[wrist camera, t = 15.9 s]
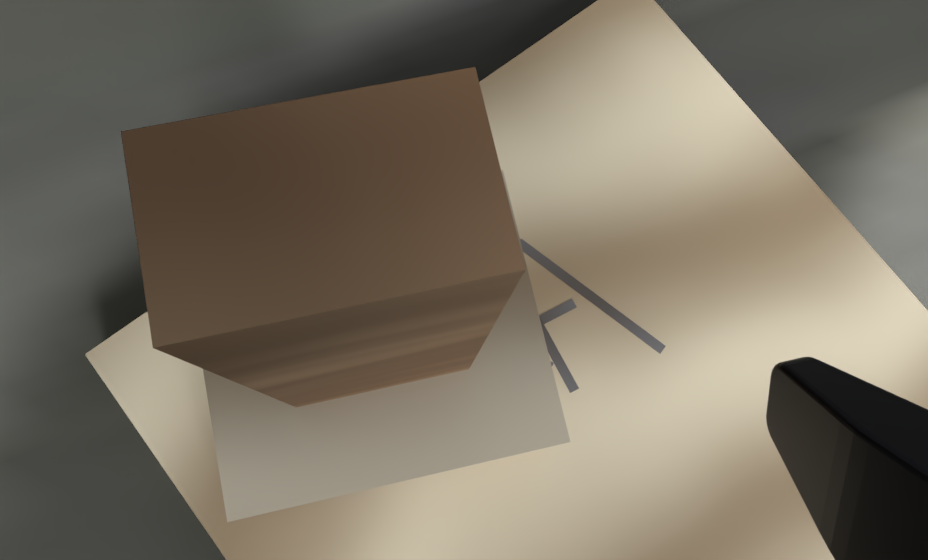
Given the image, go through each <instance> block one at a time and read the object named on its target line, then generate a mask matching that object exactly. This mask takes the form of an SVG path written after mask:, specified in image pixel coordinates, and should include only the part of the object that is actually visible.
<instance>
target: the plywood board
mask: <svg viewBox="0 0 928 560" xmlns="http://www.w3.org/2000/svg"><path fill="white" fill-rule="evenodd" d="M479 84H480V88H481V92H482V96H483V100H484V104H485V108H486V112H487V116H488V120H489V124H490V128H491V132H492V136H493V140H494V144H495V148H496V152H497V156H498V160H499V164H500V168H501V170H503V173H504V177H505V181H506V185H507V189H508V193H509V197H510V201H511V205H512V209H513V213H514V217H515V221H516V225H517V229H518V233H519V237H520V241H521V245H522V249H523V253H524V257H525V261H526V265H527V269H528V273H529V277H530V281H531V285H532V289H533V293H534V297H535V301H536V305H537V310H538V314H539V318H540V322H541V326H542V330H543V334H544V338H545V342H546V346H547V350H548V354H549V358H550V362H551V366H552V370H553V374H554V378H555V382H556V386H557V390H558V394H559V398H560V402H561V406H562V410H563V414H564V418H565V422H566V426H567V430H568V434H569V438H570V442H568V443H564V444H560V445H555V446H551V447H547V448H543V449H538V450H534V451H530V452H526V453H521V454H517V455H513V456H508V457H504V458H500V459H496V460H491V461H487V462H483V463H478V464H474V465H470V466H466V467H461V468H457V469H453V470H449V471H444V472H440V473H436V474H431V475H427V476H423V477H419V478H414V479H410V480H406V481H402V482H397V483H393V484H389V485H384V486H380V487H376V488H372V489H367V490H363V491H359V492H354V493H350V494H346V495H342V496H337V497H333V498H329V499H325V500H320V501H316V502H312V503H307V504H303V505H299V506H295V507H290V508H286V509H282V510H278V511H273V512H269V513H265V514H260V515H256V516H252V517H248V518H243V519H239V520H235V521H230V522H227V517H226V511H225V505H224V499H223V492H222V486H221V480H220V473H219V467H218V461H217V455H216V448H215V442H214V436H213V430H212V423H211V417H210V411H209V404H208V398H207V392H206V386H205V379H204V373H203V369H202V368H200V367H198V366H195V365H193V364H190V363H188V362H185V361H183V360H181V359H178V358H176V357H173V356H171V355H169V354H166V353H164V352H161V351H159V350H157V349H154V348H153V346H152V339H151V332H150V325H149V319H148V312H146V313H144V314H143V315H141V316H140V317H138V318H137V319H135V320H134V321H133V322H131V323H130V324H128V325H127V326H125V327H124V328H122V329H121V330H119V331H118V332H117V333H115V334H114V335H112V336H111V337H109V338H108V339H106V340H105V341H104V342H102V343H101V344H99V345H98V346H96V347H95V348H93V349H92V350H91V351H89V352H88V353H86V354H85V355H86V357H87V358H88V360H89V361H90V363H91V364H92V365H93V367H94V368H95V370H96V371H97V373H98V374H99V376H100V377H101V378H102V380H103V381H104V383H105V384H106V386H107V387H108V389H109V390H110V392H111V393H112V394H113V396H114V397H115V399H116V400H117V402H118V403H119V405H120V406H121V408H122V409H123V410H124V412H125V413H126V415H127V416H128V418H129V419H130V421H131V422H132V423H133V425H134V426H135V428H136V429H137V431H138V432H139V434H140V435H141V437H142V438H143V439H144V441H145V442H146V444H147V445H148V447H149V448H150V450H151V451H152V453H153V454H154V455H155V457H156V458H157V460H158V461H159V463H160V464H161V466H162V467H163V469H164V470H165V471H166V473H167V474H168V476H169V477H170V479H171V480H172V482H173V483H174V484H175V486H176V487H177V489H178V490H179V492H180V493H181V495H182V496H183V498H184V499H185V500H186V502H187V503H188V505H189V506H190V508H191V509H192V511H193V512H194V514H195V515H196V516H197V518H198V519H199V521H200V522H201V524H202V525H203V527H204V528H205V529H206V531H207V532H208V534H209V535H210V537H211V538H212V540H213V541H214V543H215V544H216V545H217V547H218V548H219V550H220V551H221V553H222V554H223V556H224V557H225V559H226V560H835V559H834V557H833V556H832V554H831V553H830V551H829V549H828V547H827V545H826V544H825V542H824V540H823V538H822V536H821V534H820V533H819V531H818V529H817V527H816V525H815V523H814V521H813V519H812V517H811V515H810V513H809V511H808V509H807V507H806V505H805V503H804V501H803V499H802V497H801V495H800V493H799V491H798V489H797V487H796V486H795V484H794V482H793V480H792V478H791V476H790V474H789V472H788V470H787V468H786V466H785V464H784V462H783V460H782V458H781V456H780V454H779V452H778V450H777V448H776V446H775V444H774V442H773V440H772V438H771V436H770V434H769V431H768V427H767V422H766V411H767V403H768V395H769V386H770V378H771V372H772V369H773V368H774V366H775V365H776V364H778V363H780V362H783V361H788V360H792V359H797V358H801V357H812V358H815V359H818V360H820V361H822V362H825V363H827V364H829V365H831V366H833V367H836V368H838V369H840V370H842V371H844V372H847V373H849V374H851V375H853V376H855V377H858V378H860V379H862V380H864V381H866V382H869V383H871V384H873V385H875V386H877V387H880V388H882V389H884V390H886V391H888V392H891V393H893V394H895V395H897V396H899V397H902V398H904V399H906V400H908V401H910V402H913V403H915V404H917V405H919V406H921V407H924V408H926V409H928V311H927V310H926V308H925V307H924V306H923V305H922V304H921V303H920V302H919V300H918V299H917V298H916V297H915V296H914V295H913V294H912V292H911V291H910V290H909V289H908V288H907V287H906V286H905V285H904V283H903V282H902V281H901V280H900V279H899V278H898V277H897V275H896V274H895V273H894V272H893V271H892V270H891V269H890V268H889V266H888V265H887V264H886V263H885V262H884V261H883V260H882V258H881V257H880V256H879V255H878V254H877V253H876V252H875V250H874V249H873V248H872V247H871V246H870V245H869V244H868V243H867V241H866V240H865V239H864V238H863V237H862V236H861V235H860V233H859V232H858V231H857V230H856V229H855V228H854V227H853V225H852V224H851V223H850V222H849V221H848V220H847V219H846V218H845V216H844V215H843V214H842V213H841V212H840V211H839V210H838V208H837V207H836V206H835V205H834V204H833V203H832V202H831V201H830V199H829V198H828V197H827V196H826V195H825V194H824V193H823V191H822V190H821V189H820V188H819V187H818V186H817V185H816V183H815V182H814V181H813V180H812V179H811V178H810V177H809V176H808V174H807V173H806V172H805V171H804V170H803V169H802V168H801V166H800V165H799V164H798V163H797V162H796V161H795V160H794V158H793V157H792V156H791V155H790V154H789V153H788V152H787V151H786V149H785V148H784V147H783V146H782V145H781V144H780V143H779V141H778V140H777V139H776V138H775V137H774V136H773V135H772V134H771V132H770V131H769V130H768V129H767V128H766V127H765V126H764V124H763V123H762V122H761V121H760V120H759V119H758V118H757V116H756V115H755V114H754V113H753V112H752V111H751V110H750V109H749V107H748V106H747V105H746V104H745V103H744V102H743V101H742V99H741V98H740V97H739V96H738V95H737V94H736V93H735V91H734V90H733V89H732V88H731V87H730V86H729V85H728V84H727V82H726V81H725V80H724V79H723V78H722V77H721V76H720V74H719V73H718V72H717V71H716V70H715V69H714V68H713V66H712V65H711V64H710V63H709V62H708V61H707V60H706V59H705V57H704V56H703V55H702V54H701V53H700V52H699V51H698V49H697V48H696V47H695V46H694V45H693V44H692V43H691V42H690V40H689V39H688V38H687V37H686V36H685V35H684V34H683V32H682V31H681V30H680V29H679V28H678V27H677V26H676V24H675V23H674V22H673V21H672V20H671V19H670V18H669V17H668V15H667V14H666V13H665V12H664V11H663V10H662V9H661V7H660V6H659V5H658V4H657V3H656V2H655V1H654V0H597V1H596V2H594V3H593V4H592V5H590V6H589V7H587V8H586V9H584V10H583V11H581V12H580V13H579V14H577V15H576V16H574V17H573V18H571V19H570V20H568V21H567V22H565V23H564V24H563V25H561V26H560V27H558V28H557V29H555V30H554V31H552V32H551V33H550V34H548V35H547V36H545V37H544V38H542V39H541V40H539V41H538V42H537V43H535V44H534V45H532V46H531V47H529V48H528V49H526V50H525V51H524V52H522V53H521V54H519V55H518V56H516V57H515V58H513V59H512V60H510V61H509V62H508V63H506V64H505V65H503V66H502V67H500V68H499V69H497V70H496V71H495V72H493V73H492V74H490V75H489V76H487V77H486V78H484V79H483V80H482V81H480V82H479Z"/></svg>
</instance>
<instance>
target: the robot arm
mask: <svg viewBox="0 0 928 560" xmlns="http://www.w3.org/2000/svg"><path fill="white" fill-rule="evenodd" d="M766 422H767V427H768V431H769V434H770V436H771V438H772V440H773V442H774V444H775V446H776V448H777V450H778V452H779V454H780V456H781V458H782V460H783V462H784V464H785V466H786V468H787V470H788V472H789V474H790V476H791V478H792V480H793V482H794V484H795V486H796V487H797V489H798V491H799V493H800V495H801V497H802V499H803V501H804V503H805V505H806V507H807V509H808V511H809V513H810V515H811V517H812V519H813V521H814V523H815V525H816V527H817V529H818V531H819V533H820V534H821V536H822V538H823V540H824V542H825V544H826V545H827V547H828V549H829V551H830V553H831V554H832V556H833V557H834V559H835V560H928V409H926V408H924V407H921V406H919V405H917V404H915V403H913V402H910V401H908V400H906V399H904V398H902V397H899V396H897V395H895V394H893V393H891V392H888V391H886V390H884V389H882V388H880V387H877V386H875V385H873V384H871V383H869V382H866V381H864V380H862V379H860V378H858V377H855V376H853V375H851V374H849V373H847V372H844V371H842V370H840V369H838V368H836V367H833V366H831V365H829V364H827V363H825V362H822V361H820V360H818V359H815V358H812V357H801V358H797V359H792V360H788V361H783V362H780V363H778V364H776V365H775V366H774V368H773V369H772V372H771V378H770V386H769V395H768V403H767V411H766Z"/></svg>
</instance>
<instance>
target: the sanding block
mask: <svg viewBox="0 0 928 560" xmlns="http://www.w3.org/2000/svg"><path fill="white" fill-rule="evenodd" d="M121 135H122V142H123V149H124V156H125V163H126V169H127V176H128V183H129V190H130V196H131V203H132V210H133V217H134V224H135V230H136V237H137V244H138V251H139V257H140V264H141V271H142V278H143V285H144V291H145V298H146V305H147V312H148V319H149V325H150V332H151V339H152V346H153V348H154V349H157V350H159V351H161V352H164V353H166V354H169V355H171V356H173V357H176V358H178V359H181V360H183V361H185V362H188V363H190V364H193V365H195V366H198V367H200V368H202V369H203V373H204V379H205V386H206V392H207V398H208V404H209V411H210V417H211V423H212V430H213V436H214V442H215V448H216V455H217V461H218V467H219V473H220V480H221V486H222V492H223V499H224V505H225V511H226V517H227V522H230V521H235V520H239V519H243V518H248V517H252V516H256V515H260V514H265V513H269V512H273V511H278V510H282V509H286V508H290V507H295V506H299V505H303V504H307V503H312V502H316V501H320V500H325V499H329V498H333V497H337V496H342V495H346V494H350V493H354V492H359V491H363V490H367V489H372V488H376V487H380V486H384V485H389V484H393V483H397V482H402V481H406V480H410V479H414V478H419V477H423V476H427V475H431V474H436V473H440V472H444V471H449V470H453V469H457V468H461V467H466V466H470V465H474V464H478V463H483V462H487V461H491V460H496V459H500V458H504V457H508V456H513V455H517V454H521V453H526V452H530V451H534V450H538V449H543V448H547V447H551V446H555V445H560V444H564V443H568V442H570V438H569V434H568V430H567V426H566V422H565V418H564V414H563V410H562V406H561V402H560V398H559V394H558V390H557V386H556V382H555V378H554V374H553V370H552V366H551V362H550V358H549V354H548V350H547V346H546V342H545V338H544V334H543V330H542V326H541V322H540V318H539V314H538V310H537V305H536V301H535V297H534V293H533V289H532V285H531V281H530V277H529V273H528V269H527V265H526V261H525V257H524V253H523V249H522V245H521V241H520V237H519V233H518V229H517V225H516V221H515V217H514V213H513V209H512V205H511V201H510V197H509V193H508V189H507V185H506V181H505V177H504V173H503V170H501V168H500V164H499V160H498V156H497V152H496V148H495V144H494V140H493V136H492V132H491V128H490V124H489V120H488V116H487V112H486V108H485V104H484V100H483V96H482V92H481V88H480V84H479V79H478V75H477V71H476V67H472V68H466V69H461V70H455V71H450V72H444V73H439V74H433V75H428V76H422V77H417V78H411V79H406V80H400V81H395V82H390V83H384V84H379V85H373V86H368V87H362V88H357V89H351V90H346V91H340V92H335V93H329V94H324V95H318V96H313V97H307V98H302V99H296V100H291V101H285V102H280V103H274V104H269V105H263V106H258V107H252V108H247V109H242V110H236V111H231V112H225V113H220V114H214V115H209V116H203V117H198V118H192V119H187V120H181V121H176V122H170V123H165V124H159V125H154V126H148V127H143V128H137V129H132V130H126V131H121Z"/></svg>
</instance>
